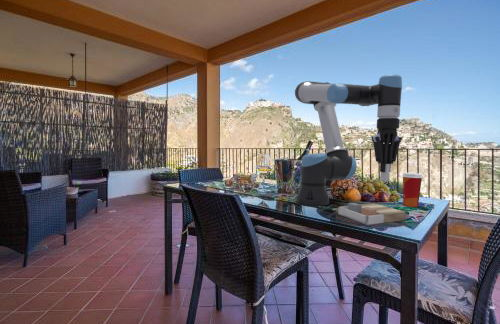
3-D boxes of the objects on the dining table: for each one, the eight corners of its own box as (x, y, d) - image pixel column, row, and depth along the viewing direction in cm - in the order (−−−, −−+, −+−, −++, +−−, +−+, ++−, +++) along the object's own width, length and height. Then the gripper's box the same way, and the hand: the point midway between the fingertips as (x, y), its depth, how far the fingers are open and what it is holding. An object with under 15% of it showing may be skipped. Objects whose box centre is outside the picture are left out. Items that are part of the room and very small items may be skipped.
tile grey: (353, 212, 109) (347, 213, 108) (354, 202, 109) (348, 203, 108) (361, 214, 106) (355, 215, 105) (361, 204, 105) (355, 205, 104)
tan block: (367, 217, 103) (361, 218, 101) (368, 207, 102) (361, 207, 101) (375, 220, 99) (369, 221, 98) (376, 209, 98) (370, 210, 97)
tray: (338, 213, 109) (338, 206, 109) (353, 212, 112) (354, 205, 112) (366, 225, 95) (366, 216, 95) (383, 222, 98) (383, 214, 98)
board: (353, 212, 112) (354, 205, 112) (374, 210, 116) (374, 203, 116) (383, 222, 98) (383, 214, 98) (405, 219, 102) (405, 212, 102)
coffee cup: (407, 202, 131) (409, 172, 129) (424, 206, 123) (426, 174, 122) (396, 204, 127) (398, 173, 125) (413, 208, 119) (415, 175, 118)
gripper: (383, 116, 94) (379, 183, 97) (410, 118, 99) (405, 181, 101) (366, 118, 101) (363, 180, 104) (392, 119, 106) (389, 178, 108)
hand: (384, 180), depth 102 cm, fingers closed
